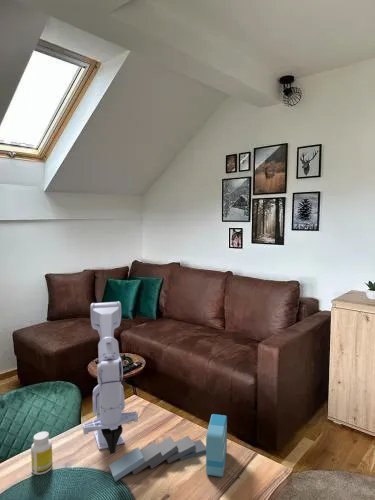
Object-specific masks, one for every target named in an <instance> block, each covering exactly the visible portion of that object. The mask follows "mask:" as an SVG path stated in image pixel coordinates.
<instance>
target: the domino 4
mask: <svg viewBox="0 0 375 500" xmlns="http://www.w3.org/2000/svg"><path fill="white" fill-rule="evenodd" d="M193 443H194V444H195V446H196V450H194V451H193V452H191V453H189V454H187V455H185V456H183V457H181V458H179V459H178V460H179V461H181V462H182V461H184V460H188V459H190V458H193V457H197V456H200V455H203V454H206V444H204V442H203V441H202V440H201V439H199V440H195V441H193Z"/></svg>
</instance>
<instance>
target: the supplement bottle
mask: <svg viewBox="0 0 375 500" xmlns="http://www.w3.org/2000/svg"><path fill="white" fill-rule="evenodd" d="M30 454H31V456H30V457H31V458H30V459H31V471H32V473H33V474H34V475H44V474H46V473H48V472H49V471H50V470H51V469H52V467H53V444H52V440H51V439H50V433H49V432H48V431H43V430H42V431H39V432H37V433H35V434H34V435H33V443H32V444H31V447H30Z"/></svg>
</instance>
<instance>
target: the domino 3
mask: <svg viewBox="0 0 375 500" xmlns="http://www.w3.org/2000/svg"><path fill="white" fill-rule="evenodd" d="M174 442H175V444H176V445H177V447H178V449H179V450H178V451H176V452H175V453H174V454H172V455H171V456H169V457H168V458H167V459H165V460H166V462H167V464H171V463H173V462H175V461H177V460H179V458H181V457H183V456H185V455H187V454H189V453H191V452H193V451H194V450H196V446H195V444H194V443H193V442H194V441H193V440H192V438H191V437H190V436H189V435H187V436H185V437H182V438H180V439H178V440H176V441H174Z"/></svg>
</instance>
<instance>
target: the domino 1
mask: <svg viewBox="0 0 375 500" xmlns="http://www.w3.org/2000/svg"><path fill="white" fill-rule="evenodd" d="M157 445H158V444H157V443H156V442H155V441H153V442H152V443H150V444H148V445H147V446H146V447H144V448H142V449H141V450H140V451H141V453H142V455H143V457H144V460H145V462H144V463H143V464H141V465H140V466H138V467H137V468H135V469H134V470H132V471H131V472H132V475H133V476H136V475H137V474H138V473H140V472H141V471H143V470H145V469H146V468H147V467H150V464H152V463H153V462H155V461H156V460H158V459H159V458H160V457H162V454H161V451H160V450H159V448H158V446H157Z"/></svg>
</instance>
